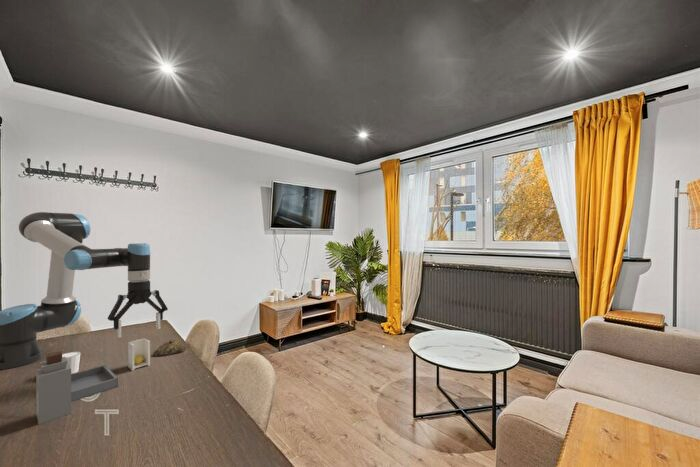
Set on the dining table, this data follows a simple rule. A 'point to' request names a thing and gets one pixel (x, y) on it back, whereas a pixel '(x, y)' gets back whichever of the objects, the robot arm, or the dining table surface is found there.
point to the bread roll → (170, 348)
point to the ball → (138, 359)
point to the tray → (92, 382)
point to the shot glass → (73, 360)
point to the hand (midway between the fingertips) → (139, 332)
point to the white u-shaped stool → (138, 353)
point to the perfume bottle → (53, 388)
